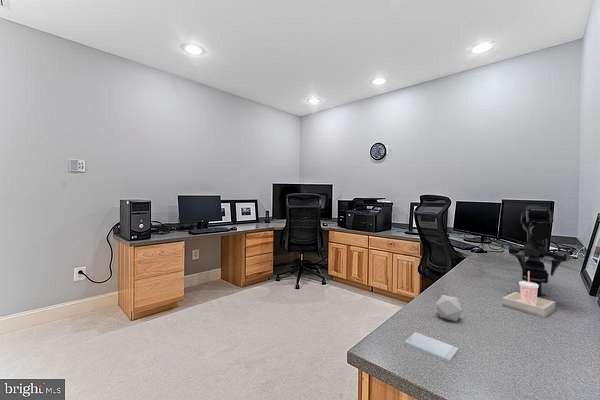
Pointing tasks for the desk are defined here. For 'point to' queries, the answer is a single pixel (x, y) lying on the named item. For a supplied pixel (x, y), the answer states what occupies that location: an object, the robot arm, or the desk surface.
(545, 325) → the desk surface
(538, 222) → the robot arm
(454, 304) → the die
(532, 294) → the beverage cup
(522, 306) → the tray
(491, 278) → the desk surface
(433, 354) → the hard drive
